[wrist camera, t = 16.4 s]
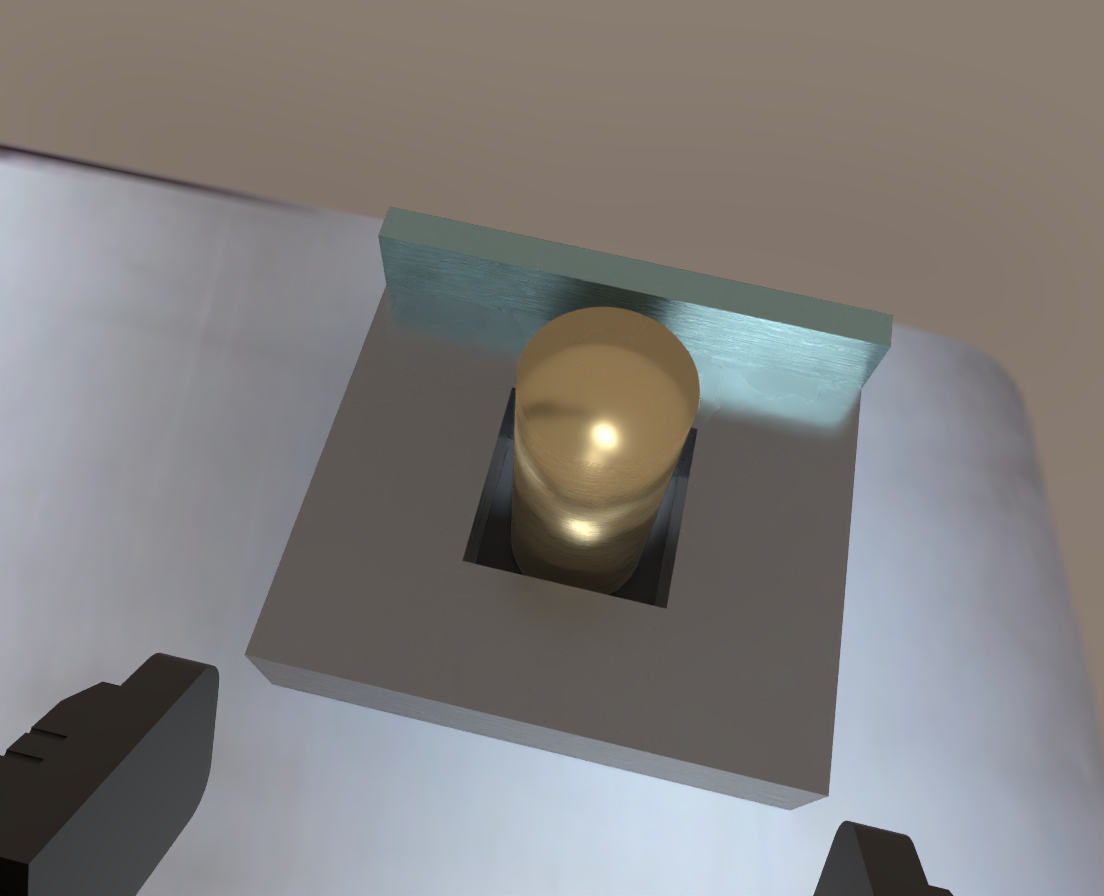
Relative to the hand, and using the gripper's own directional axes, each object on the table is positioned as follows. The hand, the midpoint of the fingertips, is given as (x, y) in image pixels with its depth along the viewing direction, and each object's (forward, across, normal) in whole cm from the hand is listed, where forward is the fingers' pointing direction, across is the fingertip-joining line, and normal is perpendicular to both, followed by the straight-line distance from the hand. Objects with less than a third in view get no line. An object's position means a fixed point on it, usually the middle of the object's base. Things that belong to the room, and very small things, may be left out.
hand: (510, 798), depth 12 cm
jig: (+19, 0, +4) cm, 19 cm away
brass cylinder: (+19, 0, +4) cm, 19 cm away
